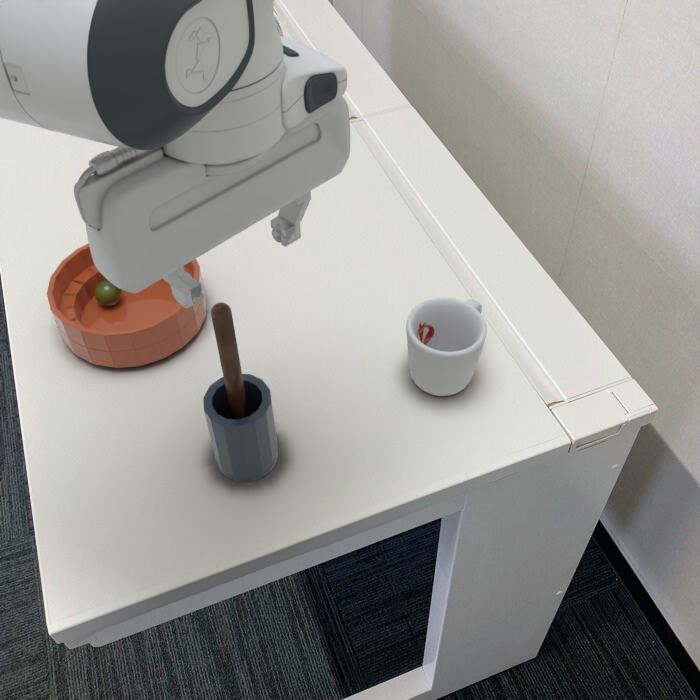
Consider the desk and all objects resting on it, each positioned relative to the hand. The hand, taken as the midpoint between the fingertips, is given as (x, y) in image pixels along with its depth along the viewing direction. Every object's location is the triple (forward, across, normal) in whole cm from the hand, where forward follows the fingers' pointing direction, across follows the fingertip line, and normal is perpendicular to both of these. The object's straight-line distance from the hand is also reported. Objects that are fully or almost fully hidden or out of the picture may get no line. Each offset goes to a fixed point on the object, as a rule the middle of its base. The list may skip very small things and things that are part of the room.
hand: (239, 268), depth 58 cm
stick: (+23, -2, +1) cm, 23 cm away
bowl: (+24, +2, +25) cm, 35 cm away
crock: (+24, -2, +1) cm, 24 cm away
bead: (+22, +1, +28) cm, 36 cm away
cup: (+24, +21, -6) cm, 33 cm away
